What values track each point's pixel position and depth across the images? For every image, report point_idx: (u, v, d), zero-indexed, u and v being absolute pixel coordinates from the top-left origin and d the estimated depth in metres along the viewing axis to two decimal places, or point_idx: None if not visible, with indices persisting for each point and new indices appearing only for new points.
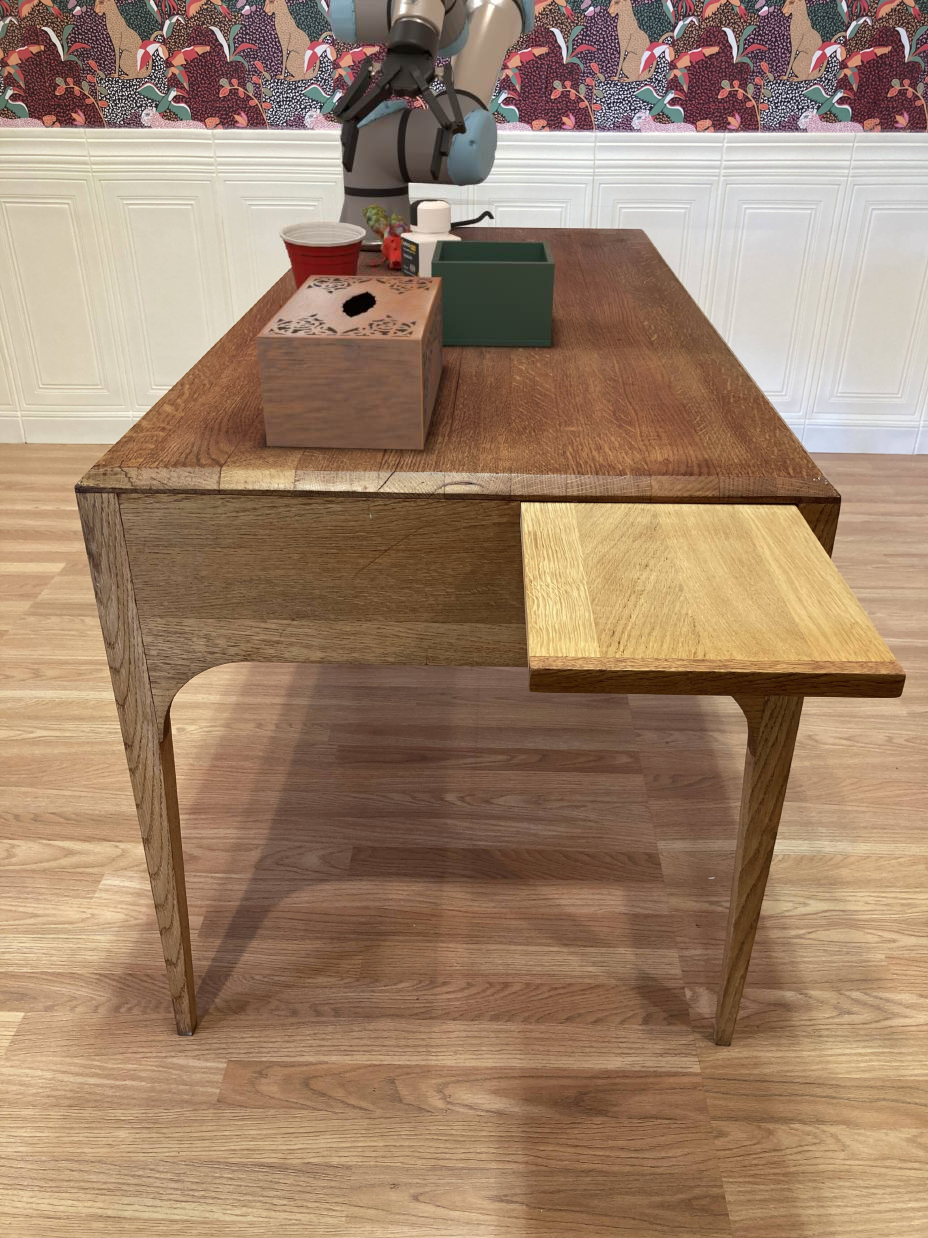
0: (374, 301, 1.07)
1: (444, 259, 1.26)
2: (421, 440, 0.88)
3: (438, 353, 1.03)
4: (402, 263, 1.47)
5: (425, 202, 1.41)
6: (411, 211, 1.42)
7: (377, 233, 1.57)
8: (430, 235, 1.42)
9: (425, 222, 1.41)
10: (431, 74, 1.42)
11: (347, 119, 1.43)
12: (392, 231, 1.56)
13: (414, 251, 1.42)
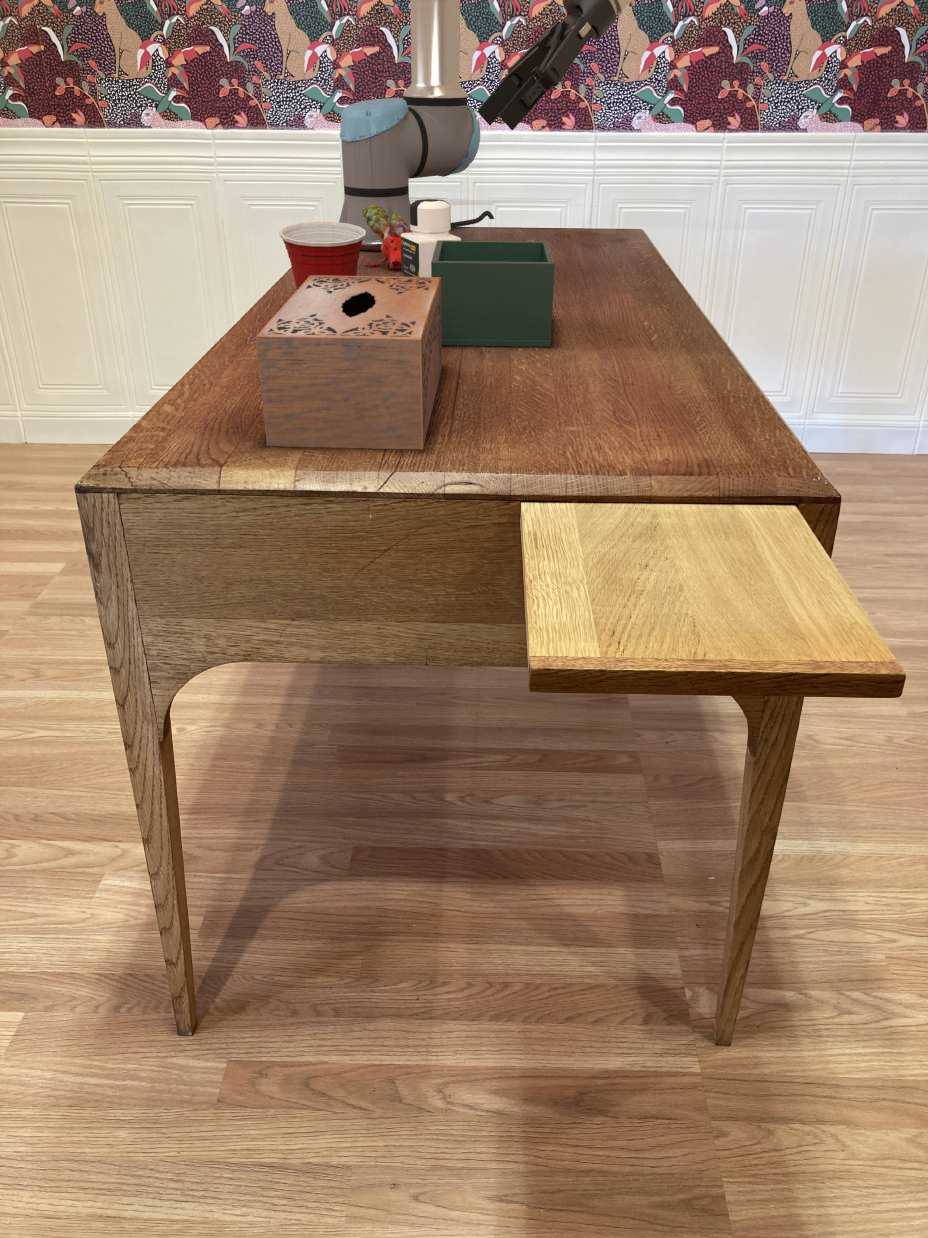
0: (373, 301, 1.07)
1: (444, 259, 1.26)
2: (421, 440, 0.88)
3: (437, 353, 1.03)
4: (402, 263, 1.47)
5: (425, 202, 1.41)
6: (411, 211, 1.42)
7: (377, 233, 1.57)
8: (430, 235, 1.42)
9: (425, 222, 1.41)
10: None
11: (546, 89, 1.31)
12: (392, 231, 1.56)
13: (414, 251, 1.42)
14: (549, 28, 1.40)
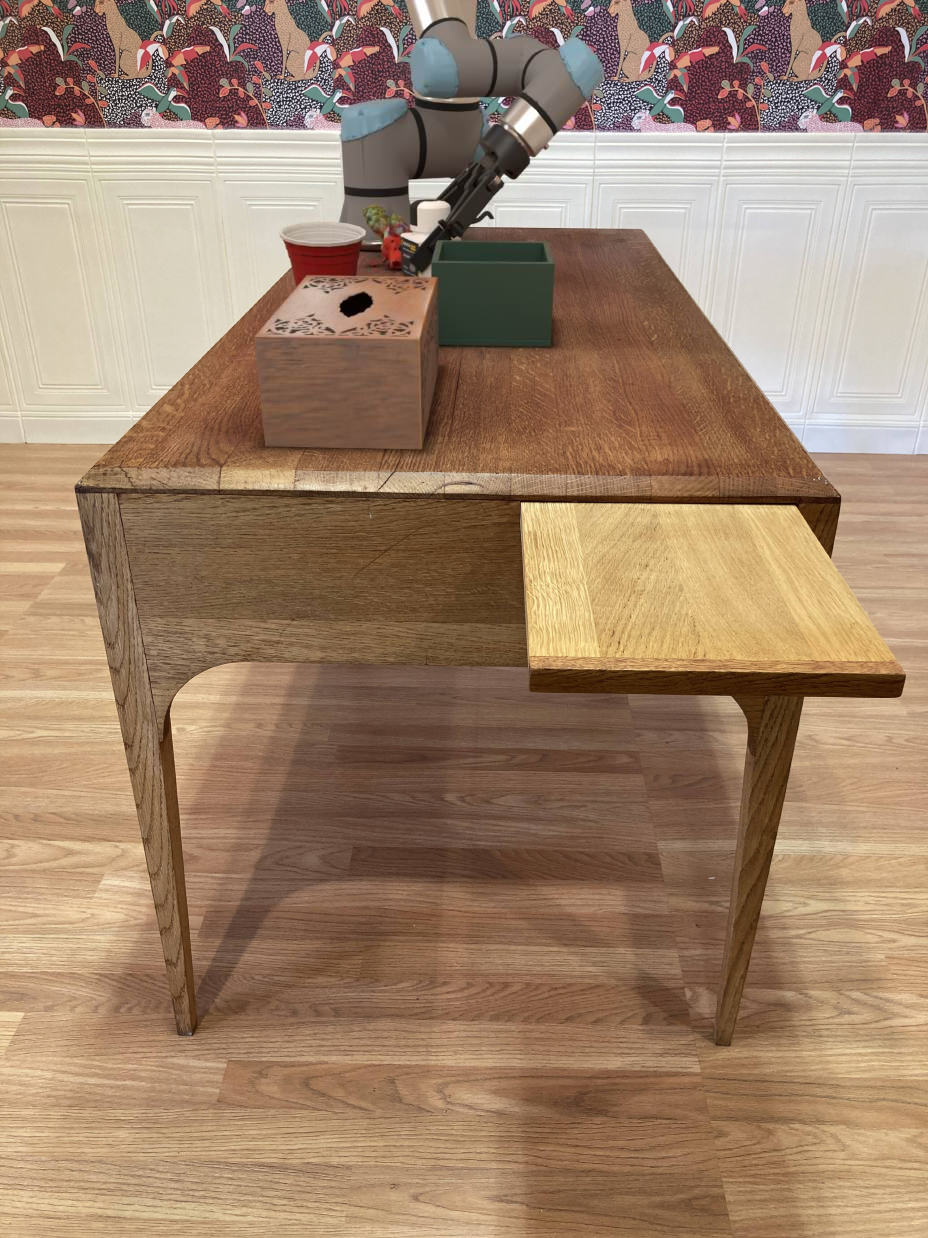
0: (370, 301, 1.07)
1: (444, 259, 1.26)
2: (420, 440, 0.88)
3: None
4: (402, 263, 1.47)
5: (425, 202, 1.41)
6: (411, 211, 1.42)
7: (377, 233, 1.57)
8: None
9: (425, 222, 1.41)
10: None
11: None
12: (392, 231, 1.56)
13: (414, 251, 1.42)
14: (465, 168, 1.47)
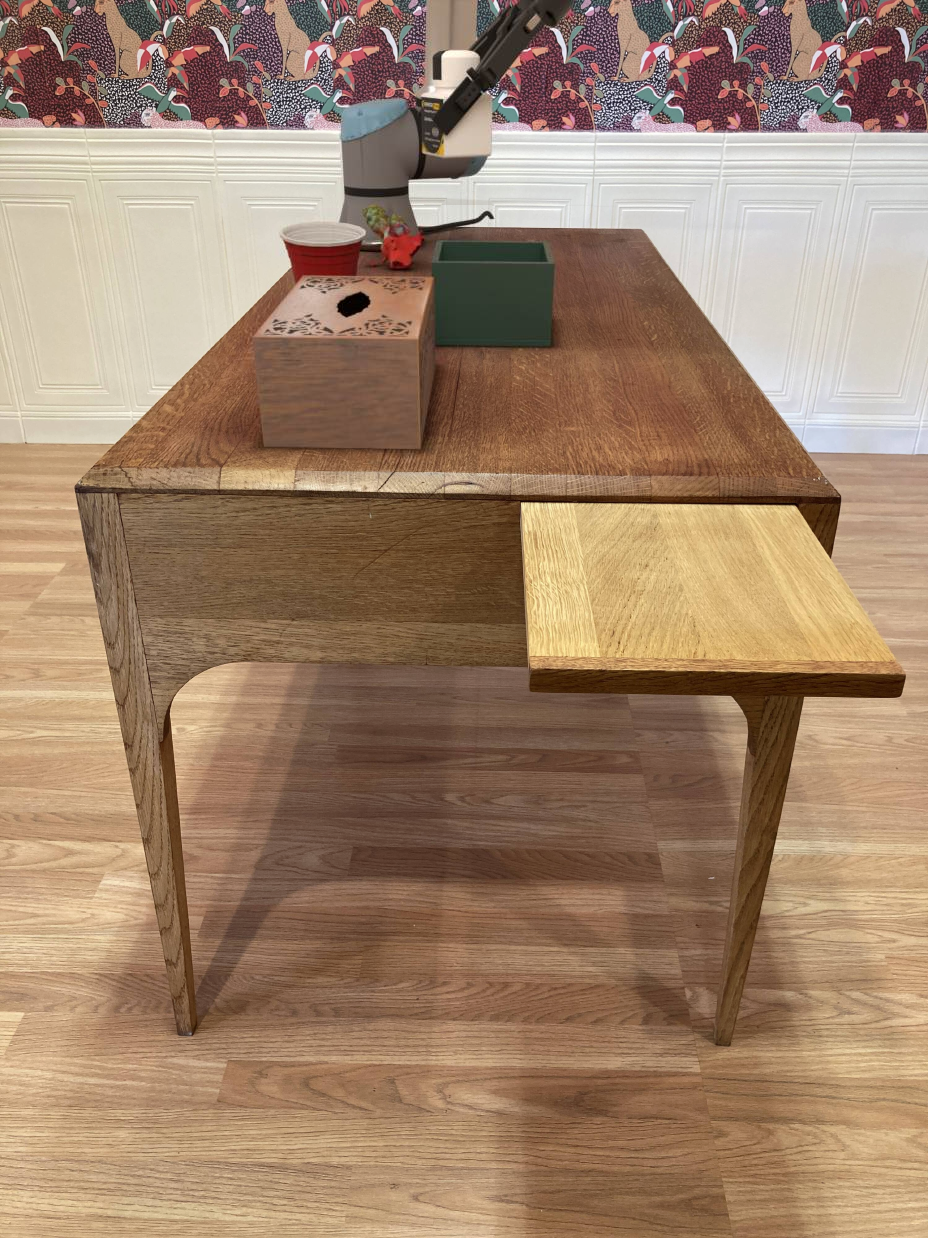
0: (367, 301, 1.07)
1: (444, 259, 1.26)
2: (418, 439, 0.88)
3: None
4: (423, 130, 1.27)
5: (450, 50, 1.20)
6: (434, 62, 1.21)
7: (377, 233, 1.57)
8: None
9: (451, 74, 1.20)
10: None
11: None
12: (392, 231, 1.56)
13: (437, 110, 1.22)
14: (496, 18, 1.26)
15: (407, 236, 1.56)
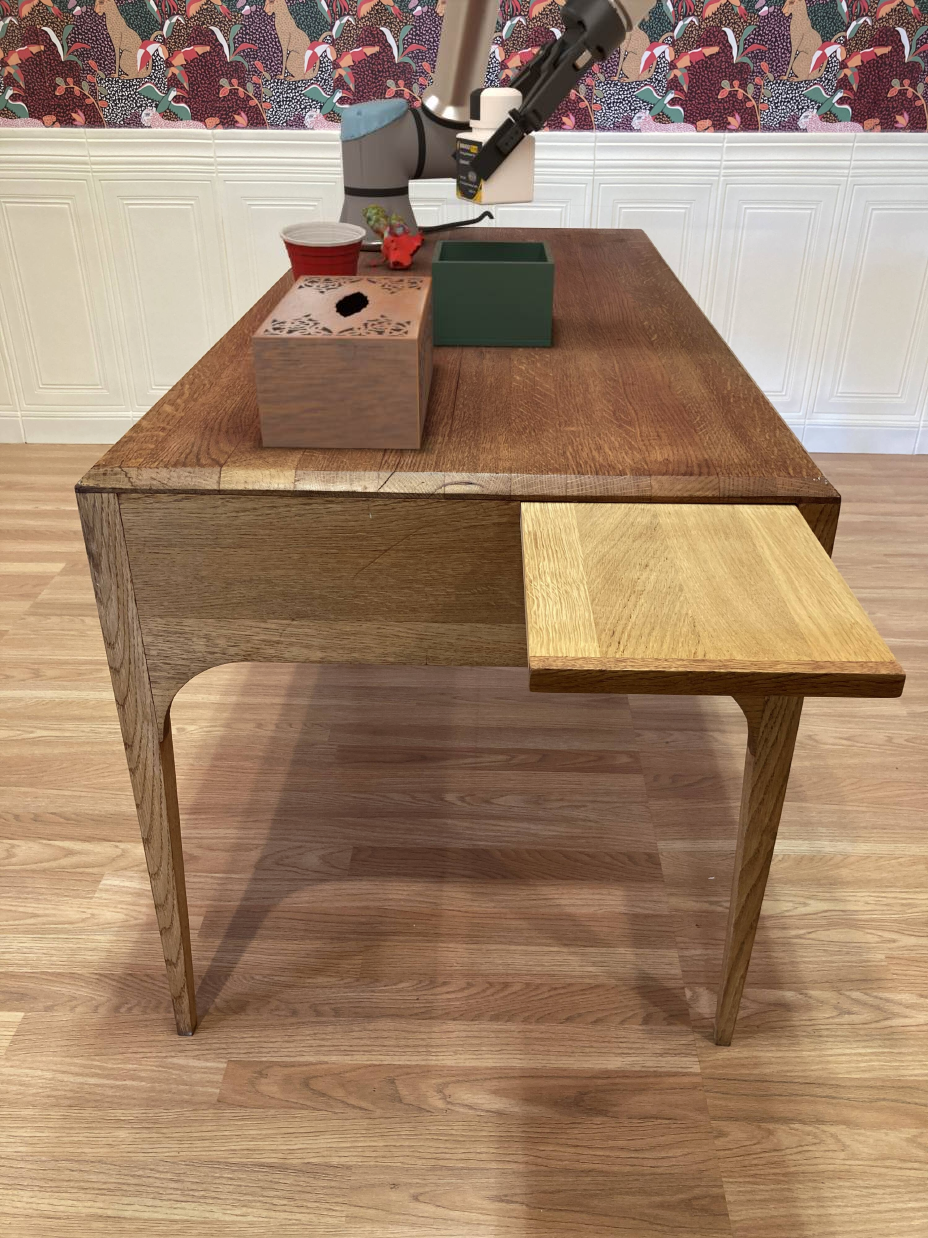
0: (364, 301, 1.07)
1: (444, 259, 1.26)
2: (417, 439, 0.88)
3: (430, 352, 1.03)
4: (458, 173, 1.16)
5: (490, 88, 1.09)
6: (472, 101, 1.10)
7: (377, 233, 1.57)
8: None
9: (491, 114, 1.09)
10: None
11: None
12: (392, 231, 1.56)
13: (475, 153, 1.11)
14: (538, 51, 1.15)
15: (407, 236, 1.56)
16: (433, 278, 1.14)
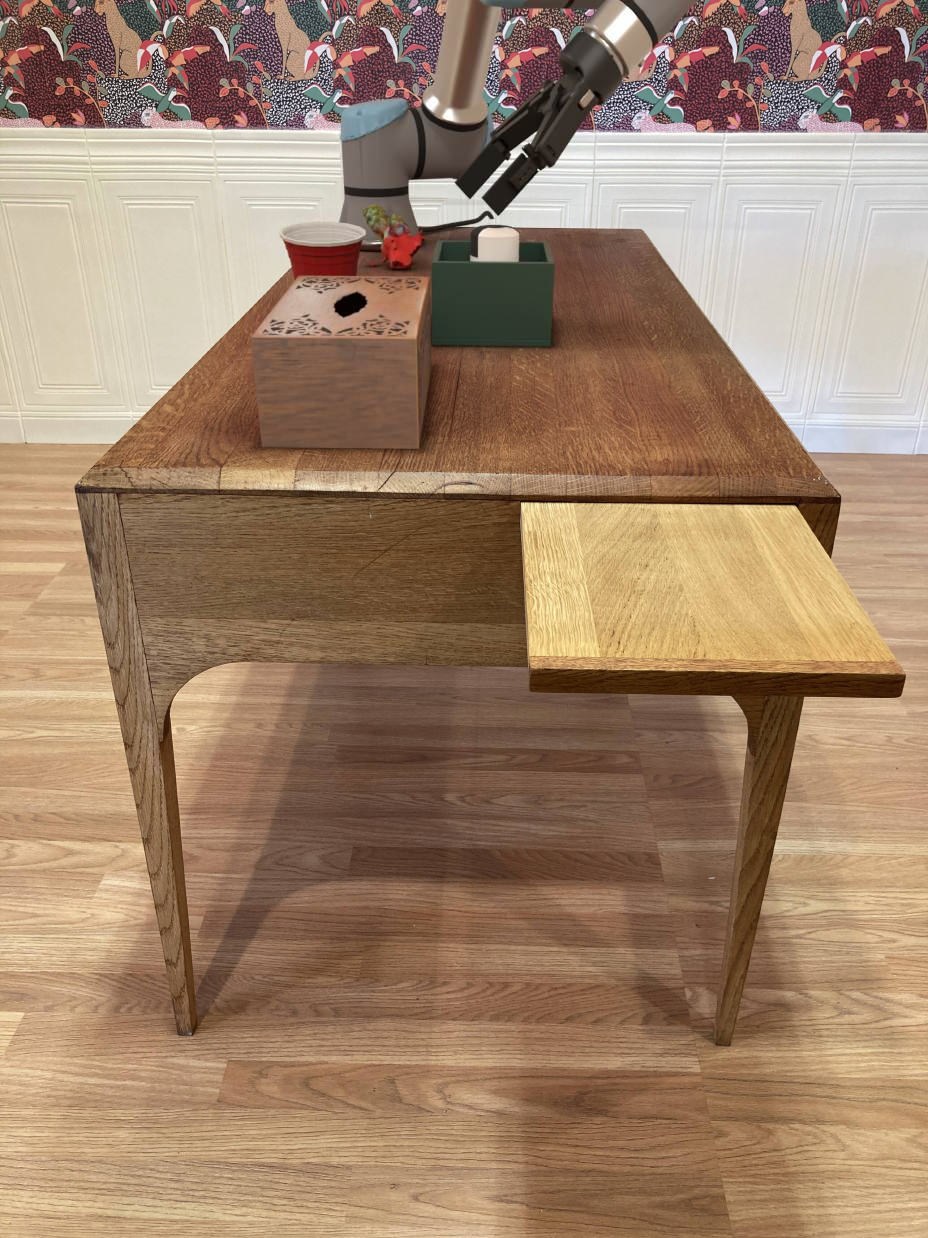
0: (362, 301, 1.07)
1: (444, 259, 1.26)
2: (417, 439, 0.88)
3: (428, 352, 1.03)
4: None
5: (488, 229, 1.16)
6: (471, 239, 1.17)
7: (377, 233, 1.57)
8: None
9: (487, 253, 1.16)
10: None
11: None
12: (392, 231, 1.56)
13: None
14: (541, 87, 1.17)
15: (407, 236, 1.56)
16: (433, 278, 1.14)
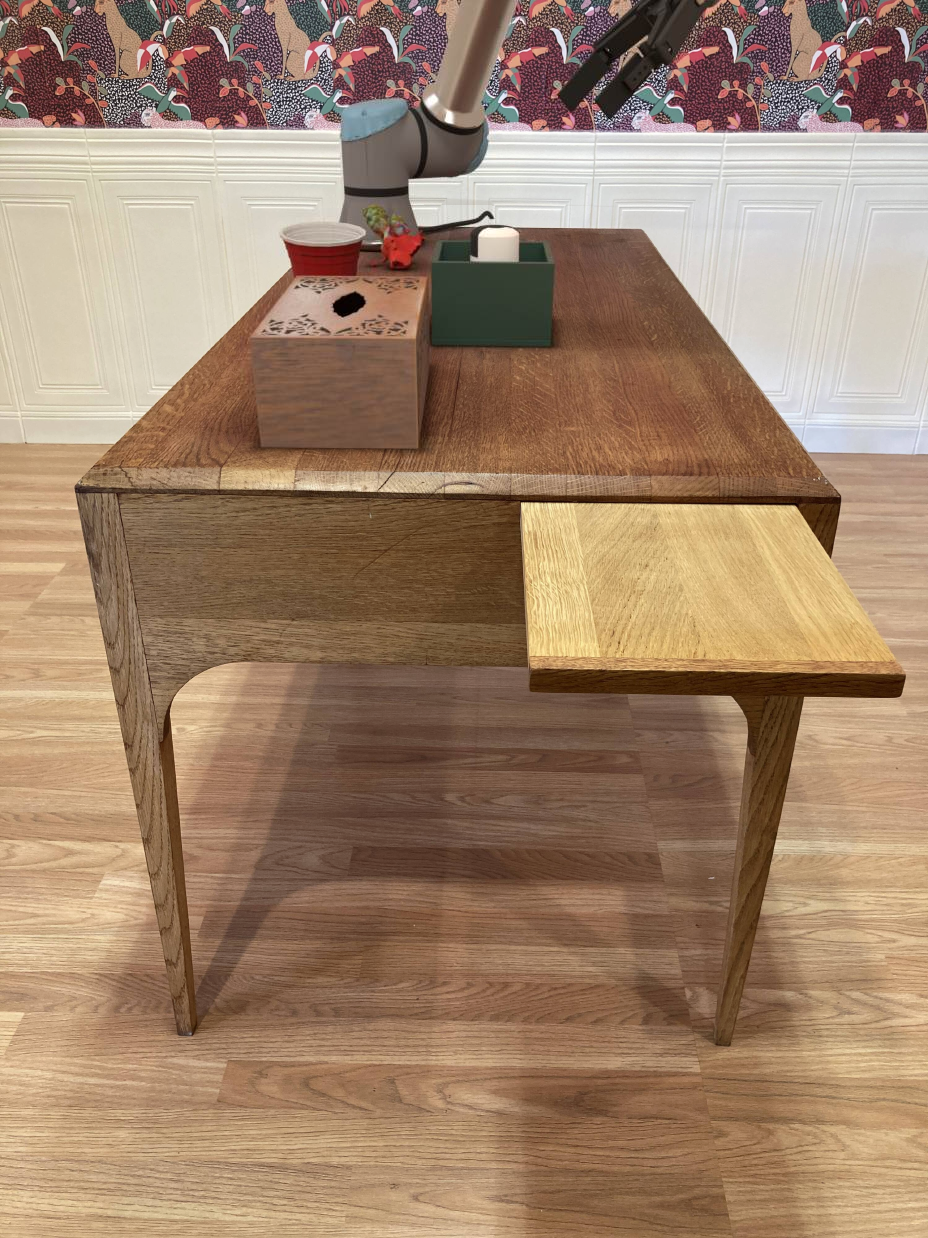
0: (360, 301, 1.07)
1: (444, 259, 1.26)
2: (416, 439, 0.88)
3: None
4: None
5: (488, 229, 1.16)
6: (471, 239, 1.17)
7: (377, 233, 1.57)
8: None
9: (487, 253, 1.16)
10: None
11: (654, 69, 1.07)
12: (392, 231, 1.56)
13: None
14: None
15: (407, 236, 1.56)
16: (433, 278, 1.14)
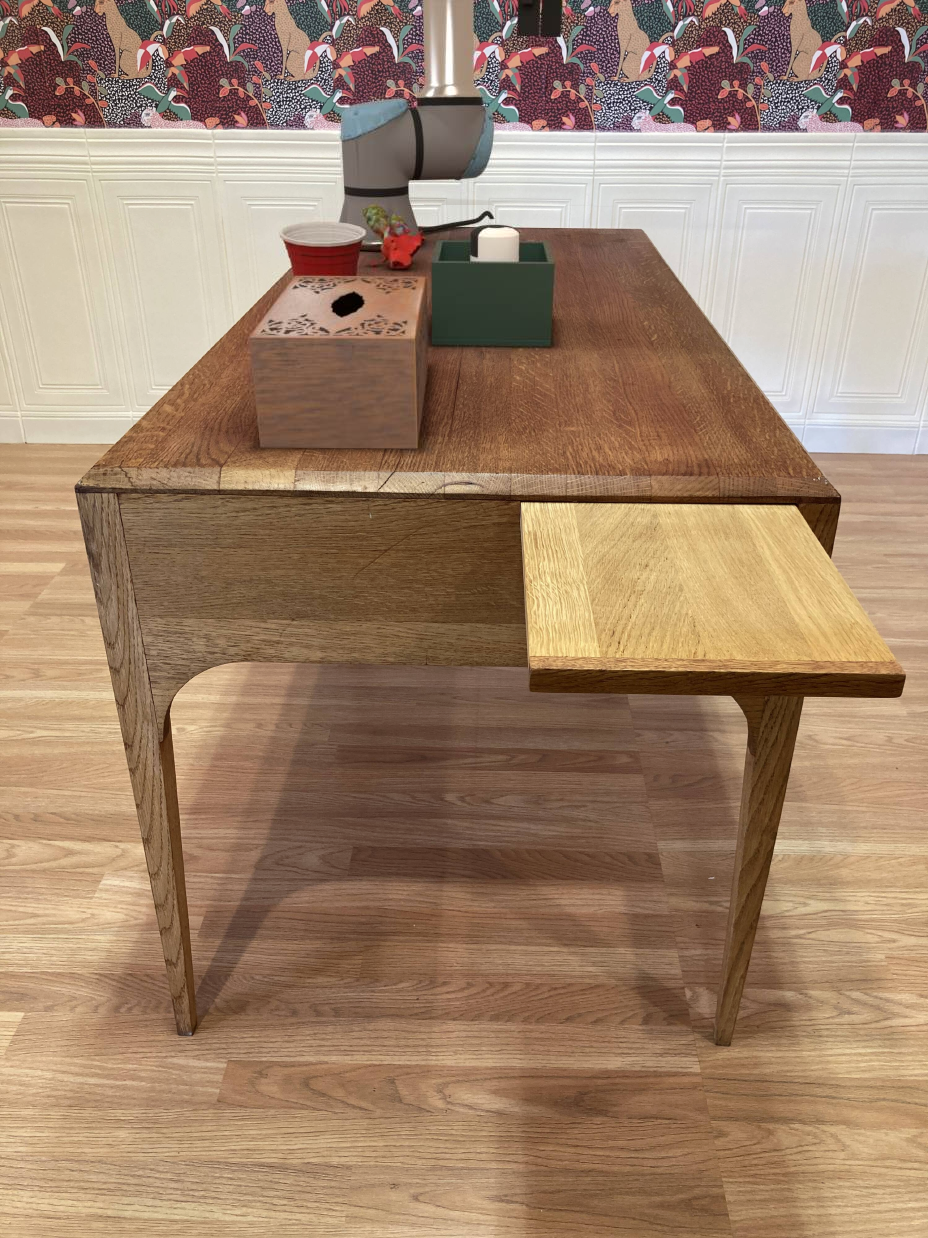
0: (359, 301, 1.07)
1: (444, 259, 1.26)
2: (415, 439, 0.88)
3: (425, 352, 1.04)
4: None
5: (488, 229, 1.16)
6: (471, 239, 1.17)
7: (377, 233, 1.57)
8: None
9: (487, 253, 1.16)
10: None
11: None
12: (392, 231, 1.56)
13: None
14: None
15: (407, 236, 1.56)
16: (433, 278, 1.14)
